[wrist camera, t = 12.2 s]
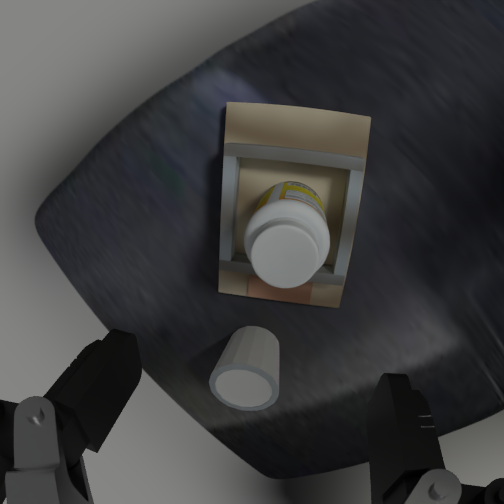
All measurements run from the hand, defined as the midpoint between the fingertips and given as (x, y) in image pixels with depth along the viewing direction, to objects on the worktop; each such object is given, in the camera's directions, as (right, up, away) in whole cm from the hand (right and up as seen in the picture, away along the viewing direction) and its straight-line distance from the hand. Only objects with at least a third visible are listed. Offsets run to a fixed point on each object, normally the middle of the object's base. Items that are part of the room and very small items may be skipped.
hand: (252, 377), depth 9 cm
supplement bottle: (+3, +7, +18) cm, 20 cm away
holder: (+3, +8, +19) cm, 21 cm away
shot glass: (0, -7, +26) cm, 26 cm away
